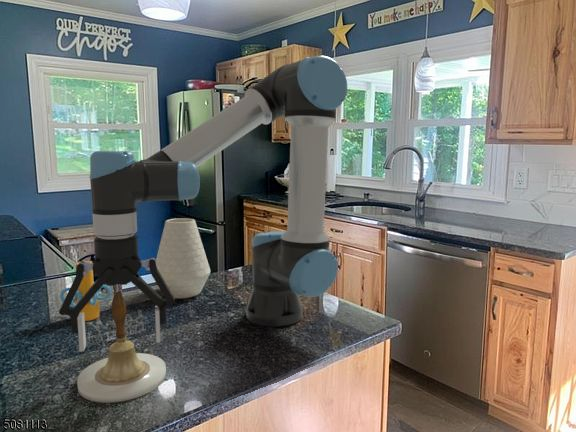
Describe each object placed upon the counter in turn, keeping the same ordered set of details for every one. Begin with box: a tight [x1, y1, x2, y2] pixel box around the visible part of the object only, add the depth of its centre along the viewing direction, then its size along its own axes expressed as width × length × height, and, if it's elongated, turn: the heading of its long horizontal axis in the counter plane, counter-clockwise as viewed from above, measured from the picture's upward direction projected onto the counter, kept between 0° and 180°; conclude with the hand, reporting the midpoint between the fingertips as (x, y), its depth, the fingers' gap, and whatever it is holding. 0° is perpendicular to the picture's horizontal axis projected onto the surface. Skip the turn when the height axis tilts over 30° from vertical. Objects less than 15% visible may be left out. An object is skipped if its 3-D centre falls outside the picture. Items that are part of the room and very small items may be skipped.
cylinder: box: [59, 260, 112, 322], centre depth 115 cm, size 12×10×15 cm
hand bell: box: [100, 291, 145, 382], centre depth 83 cm, size 8×8×16 cm
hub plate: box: [76, 352, 167, 404], centre depth 85 cm, size 16×16×2 cm
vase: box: [155, 217, 211, 300], centre depth 135 cm, size 18×17×23 cm
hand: (121, 344), depth 84 cm, fingers open, 13 cm apart
